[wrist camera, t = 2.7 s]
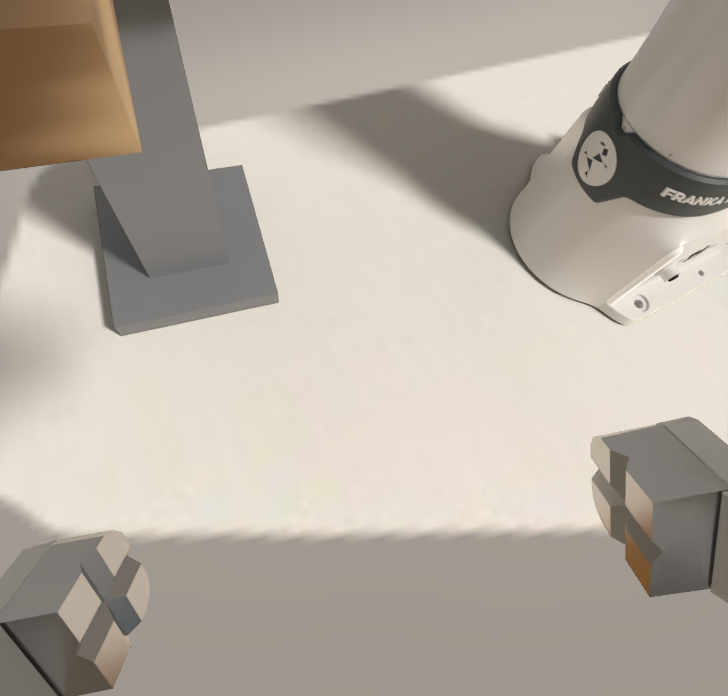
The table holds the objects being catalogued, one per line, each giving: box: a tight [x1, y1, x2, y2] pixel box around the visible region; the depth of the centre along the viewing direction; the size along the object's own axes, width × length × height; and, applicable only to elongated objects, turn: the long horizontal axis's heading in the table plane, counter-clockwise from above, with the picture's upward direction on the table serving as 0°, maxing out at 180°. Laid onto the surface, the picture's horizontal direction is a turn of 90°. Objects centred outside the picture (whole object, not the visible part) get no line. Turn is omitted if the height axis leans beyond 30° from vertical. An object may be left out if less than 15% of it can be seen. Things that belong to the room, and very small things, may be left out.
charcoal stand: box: [87, 0, 279, 336], centre depth 28 cm, size 12×13×26 cm
